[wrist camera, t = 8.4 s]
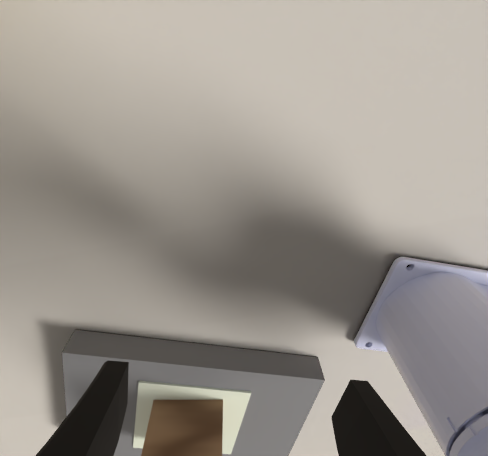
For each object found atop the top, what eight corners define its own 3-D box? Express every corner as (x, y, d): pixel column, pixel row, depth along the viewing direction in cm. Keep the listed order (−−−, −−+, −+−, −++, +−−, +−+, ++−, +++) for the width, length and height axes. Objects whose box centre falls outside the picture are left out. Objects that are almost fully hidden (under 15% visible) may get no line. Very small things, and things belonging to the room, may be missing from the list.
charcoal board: (317, 357, 25) (325, 381, 23) (278, 444, 30) (282, 470, 28) (74, 329, 22) (60, 354, 20) (79, 430, 28) (68, 457, 26)
